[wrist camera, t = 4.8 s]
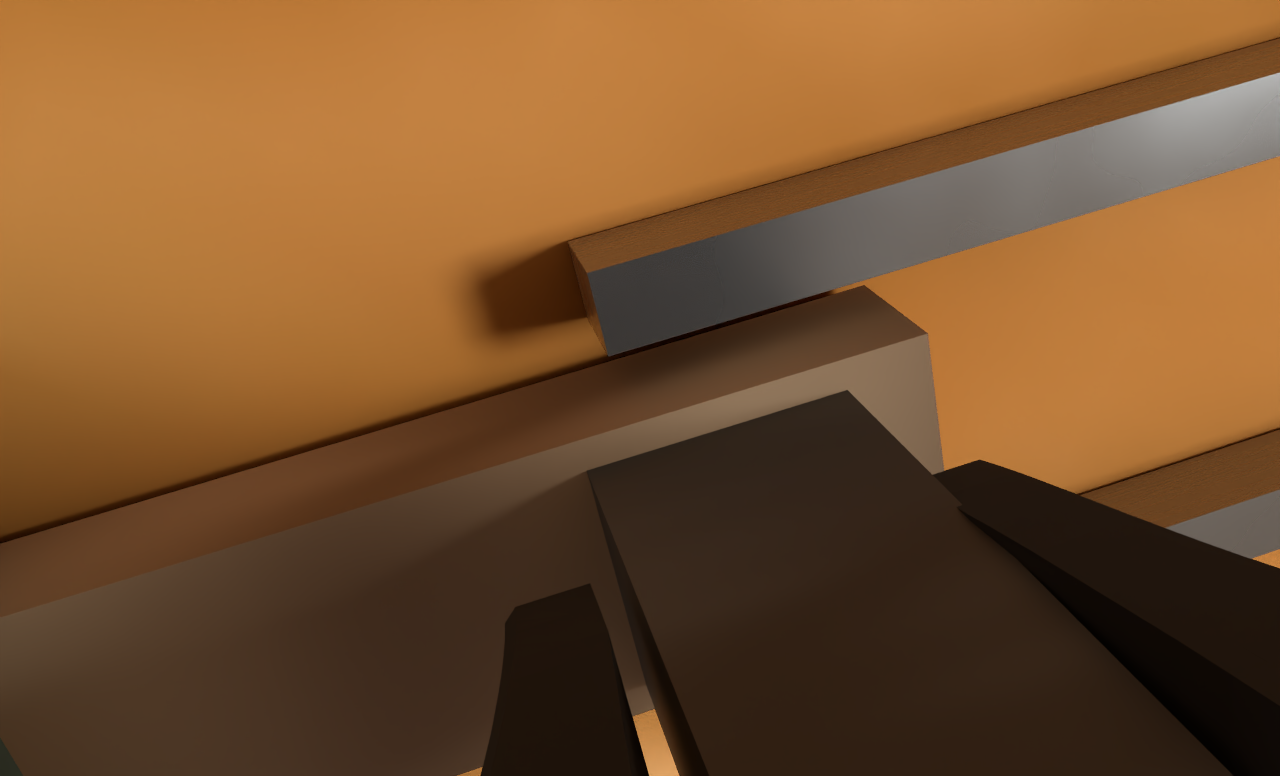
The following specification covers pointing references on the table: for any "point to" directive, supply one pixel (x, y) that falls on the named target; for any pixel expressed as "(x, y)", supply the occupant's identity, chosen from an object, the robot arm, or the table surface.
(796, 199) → the track
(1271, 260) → the table surface
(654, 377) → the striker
